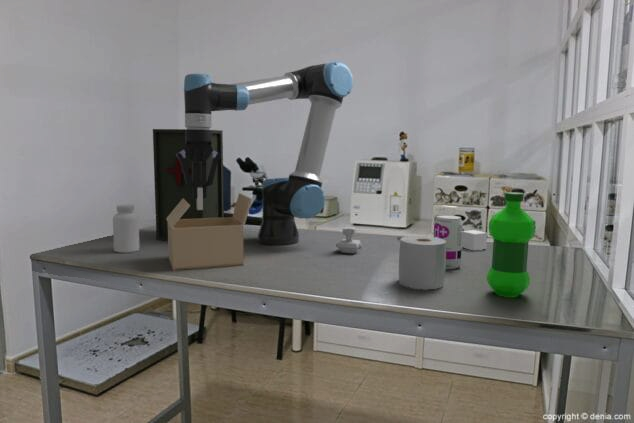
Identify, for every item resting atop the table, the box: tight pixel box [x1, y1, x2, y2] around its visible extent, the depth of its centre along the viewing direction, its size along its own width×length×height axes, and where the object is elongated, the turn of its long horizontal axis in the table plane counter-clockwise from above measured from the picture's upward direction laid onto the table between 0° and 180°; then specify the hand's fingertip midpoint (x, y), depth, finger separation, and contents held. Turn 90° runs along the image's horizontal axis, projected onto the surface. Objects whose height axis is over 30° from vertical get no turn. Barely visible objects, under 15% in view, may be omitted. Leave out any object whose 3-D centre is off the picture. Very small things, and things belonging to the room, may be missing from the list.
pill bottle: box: [112, 204, 140, 254], centre depth 164 cm, size 8×8×15 cm
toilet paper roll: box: [398, 235, 446, 291], centre depth 131 cm, size 12×12×12 cm
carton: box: [167, 216, 245, 272], centre depth 151 cm, size 20×16×12 cm
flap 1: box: [166, 199, 190, 228], centre depth 147 cm, size 8×15×1 cm
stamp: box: [335, 226, 364, 255], centre depth 166 cm, size 9×7×8 cm
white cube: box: [462, 229, 488, 252], centre depth 175 cm, size 6×6×6 cm
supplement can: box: [433, 214, 464, 270], centre depth 149 cm, size 8×8×15 cm
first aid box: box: [152, 128, 225, 241], centre depth 187 cm, size 18×18×40 cm
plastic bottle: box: [486, 191, 537, 298], centre depth 122 cm, size 10×10×25 cm
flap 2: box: [232, 192, 252, 226], centre depth 154 cm, size 8×15×1 cm
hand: (199, 209), depth 149 cm, fingers closed
